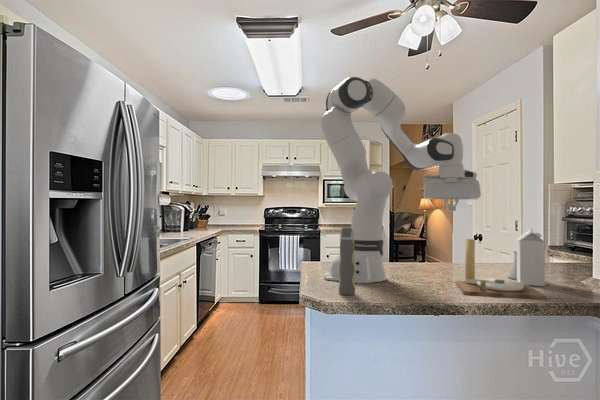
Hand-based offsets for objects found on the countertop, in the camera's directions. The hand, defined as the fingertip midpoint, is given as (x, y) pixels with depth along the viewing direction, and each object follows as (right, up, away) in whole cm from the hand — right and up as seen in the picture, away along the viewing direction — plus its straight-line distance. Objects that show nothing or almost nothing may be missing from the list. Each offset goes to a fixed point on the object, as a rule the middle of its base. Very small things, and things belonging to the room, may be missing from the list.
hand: (451, 210), depth 142 cm
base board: (+4, -24, -24) cm, 35 cm away
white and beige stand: (+4, -23, -23) cm, 33 cm away
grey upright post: (-43, -24, -29) cm, 58 cm away
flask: (+23, -25, -5) cm, 34 cm away
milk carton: (+21, -25, -14) cm, 36 cm away
